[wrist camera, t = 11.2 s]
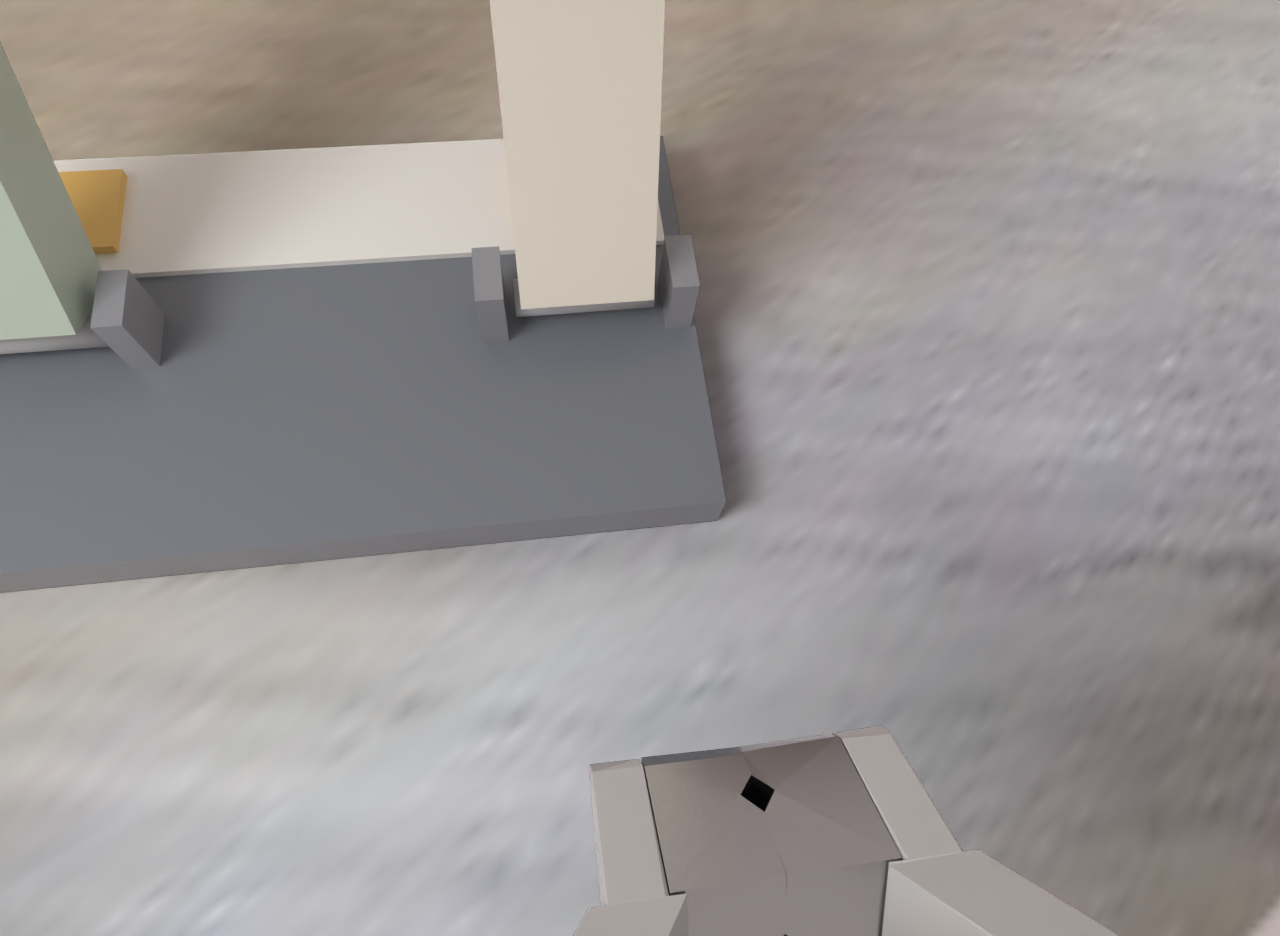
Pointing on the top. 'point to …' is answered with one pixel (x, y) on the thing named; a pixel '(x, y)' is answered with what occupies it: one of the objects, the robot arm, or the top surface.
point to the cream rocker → (581, 149)
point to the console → (338, 375)
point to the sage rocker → (39, 240)
